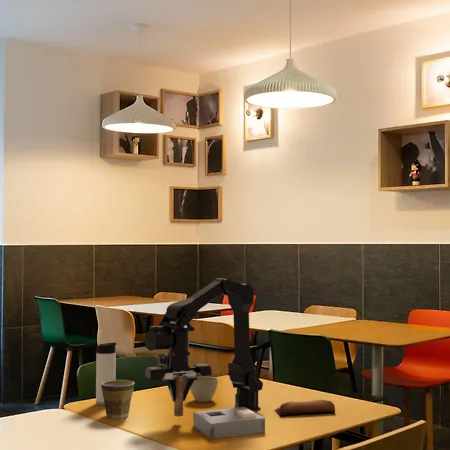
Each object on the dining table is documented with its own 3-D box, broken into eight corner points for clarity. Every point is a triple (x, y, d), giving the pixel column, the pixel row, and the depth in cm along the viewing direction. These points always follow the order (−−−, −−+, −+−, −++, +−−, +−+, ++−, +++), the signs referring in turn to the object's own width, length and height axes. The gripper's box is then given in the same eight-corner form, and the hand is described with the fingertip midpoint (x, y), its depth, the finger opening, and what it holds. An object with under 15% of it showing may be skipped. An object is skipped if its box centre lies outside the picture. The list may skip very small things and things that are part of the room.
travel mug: (112, 406, 218) (112, 344, 218) (93, 405, 219) (93, 343, 220) (119, 401, 224) (119, 341, 224) (100, 401, 225) (100, 340, 226)
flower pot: (223, 399, 228) (223, 378, 228) (207, 405, 219) (207, 383, 219) (199, 396, 233) (199, 375, 233) (182, 401, 224) (182, 379, 225)
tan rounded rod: (181, 413, 198) (181, 376, 198) (184, 415, 196) (184, 377, 196) (173, 414, 197) (173, 376, 197) (175, 416, 195) (175, 378, 195)
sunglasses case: (325, 406, 217) (329, 391, 213) (332, 423, 211) (336, 407, 207) (271, 410, 212) (274, 394, 209) (277, 426, 206) (281, 410, 203)
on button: (248, 416, 192) (248, 409, 192) (255, 420, 188) (255, 412, 188) (236, 417, 191) (236, 410, 191) (243, 421, 187) (243, 414, 187)
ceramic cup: (140, 415, 206) (141, 382, 206) (114, 422, 198) (114, 387, 199) (114, 408, 214) (114, 377, 215) (88, 414, 207) (88, 381, 207)
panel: (244, 420, 200) (244, 406, 200) (265, 432, 187) (264, 417, 187) (193, 425, 194) (193, 411, 194) (211, 438, 181) (211, 423, 181)
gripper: (199, 342, 208) (199, 393, 208) (140, 345, 201) (140, 398, 200) (212, 347, 198) (212, 400, 197) (151, 350, 191) (150, 406, 190)
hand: (178, 401), depth 196 cm, fingers closed on tan rounded rod, 3 cm apart
